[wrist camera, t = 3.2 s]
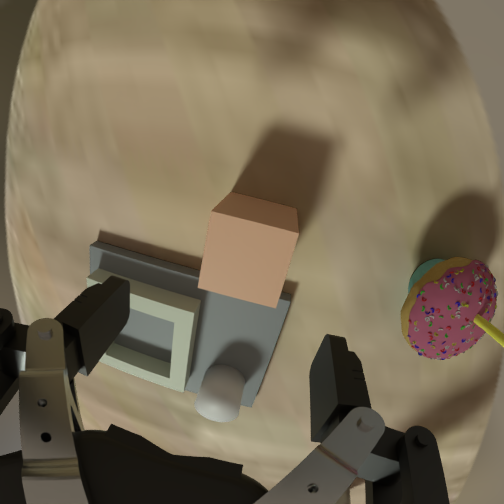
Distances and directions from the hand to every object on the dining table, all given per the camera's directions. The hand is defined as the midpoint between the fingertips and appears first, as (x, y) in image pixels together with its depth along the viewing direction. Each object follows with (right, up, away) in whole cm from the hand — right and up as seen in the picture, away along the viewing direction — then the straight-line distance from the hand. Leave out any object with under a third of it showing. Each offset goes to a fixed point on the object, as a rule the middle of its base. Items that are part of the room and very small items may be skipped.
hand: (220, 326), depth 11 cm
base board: (-6, -5, +16) cm, 18 cm away
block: (+1, +4, +12) cm, 13 cm away
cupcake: (+17, 0, +12) cm, 20 cm away
